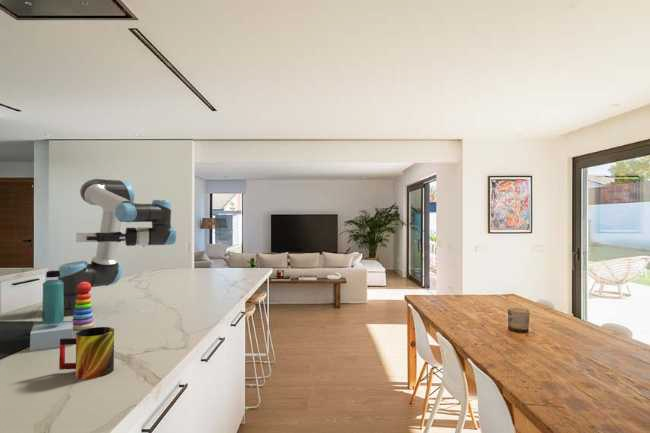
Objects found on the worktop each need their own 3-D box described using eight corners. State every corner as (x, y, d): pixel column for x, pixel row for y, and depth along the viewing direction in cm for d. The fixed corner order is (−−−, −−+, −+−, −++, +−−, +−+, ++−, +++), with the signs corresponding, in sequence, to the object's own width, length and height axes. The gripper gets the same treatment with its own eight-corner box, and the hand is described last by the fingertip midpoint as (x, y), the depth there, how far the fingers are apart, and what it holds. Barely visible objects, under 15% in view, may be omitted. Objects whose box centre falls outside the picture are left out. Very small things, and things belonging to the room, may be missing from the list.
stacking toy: (83, 331, 156) (83, 283, 156) (66, 329, 158) (66, 283, 158) (98, 325, 164) (98, 280, 164) (81, 324, 165) (82, 280, 166)
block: (72, 336, 149) (72, 320, 149) (72, 345, 139) (72, 328, 139) (33, 341, 143) (33, 325, 143) (30, 351, 132) (30, 333, 132)
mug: (59, 372, 115) (59, 331, 115) (113, 364, 122) (113, 325, 122) (56, 384, 107) (57, 340, 107) (114, 374, 114) (115, 333, 114)
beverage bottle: (68, 325, 143) (68, 270, 143) (50, 329, 137) (50, 272, 137) (55, 323, 145) (56, 269, 145) (37, 328, 139) (37, 271, 139)
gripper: (140, 248, 154) (75, 249, 142) (132, 243, 175) (76, 244, 164) (140, 228, 154) (76, 229, 142) (133, 226, 175) (76, 226, 163)
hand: (76, 237), depth 153 cm, fingers open, 13 cm apart
